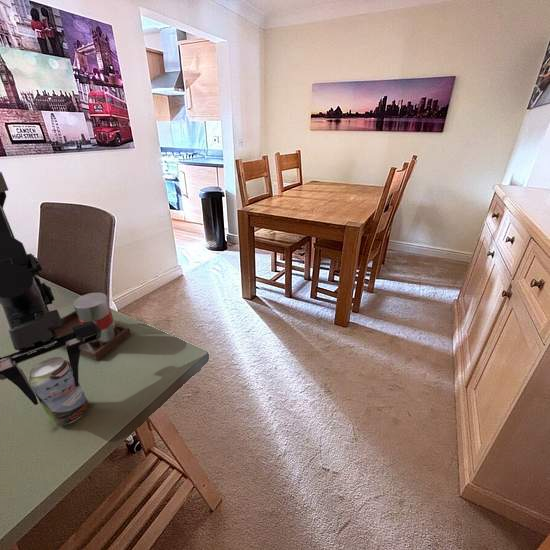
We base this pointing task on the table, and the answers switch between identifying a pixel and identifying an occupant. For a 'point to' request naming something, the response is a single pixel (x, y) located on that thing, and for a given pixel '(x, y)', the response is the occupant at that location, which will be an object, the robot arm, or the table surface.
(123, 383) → the table surface
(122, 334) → the drinks tray
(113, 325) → the can
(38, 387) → the beverage can
